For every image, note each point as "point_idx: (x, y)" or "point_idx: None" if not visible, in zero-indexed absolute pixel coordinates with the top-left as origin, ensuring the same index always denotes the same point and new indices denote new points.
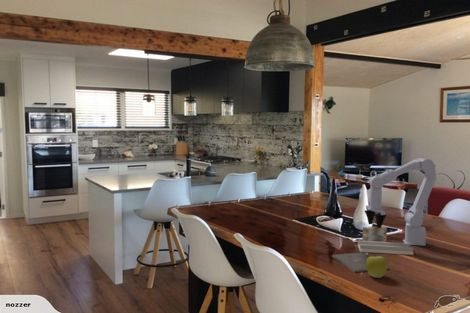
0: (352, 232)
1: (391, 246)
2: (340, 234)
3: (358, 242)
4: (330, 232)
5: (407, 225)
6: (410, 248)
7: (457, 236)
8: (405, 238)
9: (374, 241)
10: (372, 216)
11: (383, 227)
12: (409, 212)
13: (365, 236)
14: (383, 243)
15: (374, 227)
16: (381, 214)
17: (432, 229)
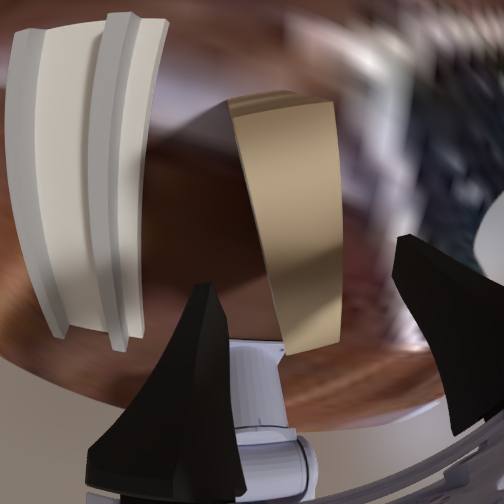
0: (485, 143)
1: (24, 252)
2: (468, 45)
3: (120, 15)
4: (494, 23)
5: (241, 434)
6: (51, 326)
7: (302, 426)
8: (246, 361)
9: (104, 161)
10: (442, 347)
11: (282, 335)
12: (296, 493)
13: (236, 103)
14: (93, 224)
15: (294, 260)
16: (93, 500)
17: (377, 400)
